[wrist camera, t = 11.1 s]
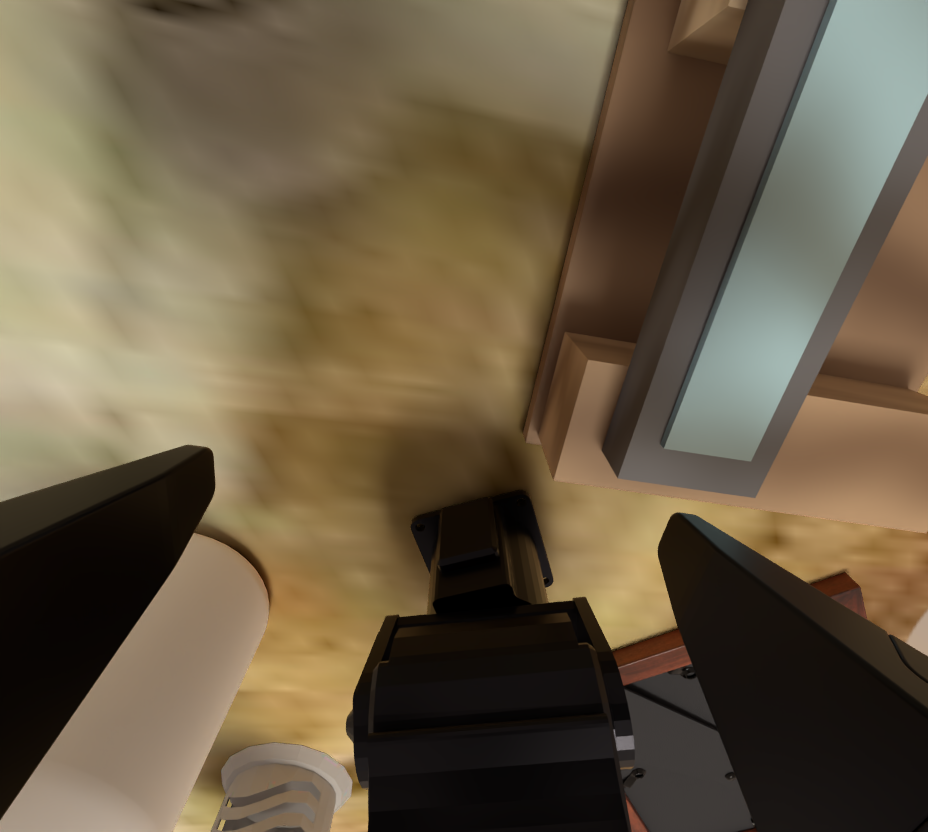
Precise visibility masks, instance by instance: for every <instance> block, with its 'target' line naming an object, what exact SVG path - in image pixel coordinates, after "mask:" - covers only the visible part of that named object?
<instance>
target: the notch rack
mask: <svg viewBox="0 0 928 832" xmlns="http://www.w3.org/2000/svg"><path fill="white" fill-rule="evenodd" d="M747 2H748V0H628V4H627V8H626V12H625V16H624V20H623V24H622V29H621V33H620V37H619V41H618V45H617V49H616V53H615V57H614V61H613V65H612V70H611V74H610V78H609V82H608V86H607V90H606V94H605V98H604V102H603V107H602V111H601V115H600V119H599V123H598V127H597V131H596V135H595V139H594V144H593V148H592V152H591V156H590V160H589V164H588V168H587V172H586V176H585V180H584V185H583V189H582V193H581V197H580V201H579V205H578V209H577V213H576V217H575V222H574V226H573V230H572V234H571V238H570V242H569V246H568V250H567V254H566V259H565V263H564V267H563V271H562V275H561V279H560V283H559V287H558V291H557V295H556V300H555V304H554V308H553V312H552V316H551V320H550V324H549V328H548V332H547V337H546V341H545V345H544V349H543V353H542V357H541V361H540V365H539V369H538V374H537V378H536V382H535V386H534V390H533V394H532V398H531V402H530V406H529V410H528V415H527V419H526V423H525V427H524V431H523V435H524V439H525V443H531V444H537V445H542V448H543V451H544V454H545V457H546V460H547V463H548V466H549V469H550V472H551V475H552V478H553V481H560V482H567V483H574V484H581V485H588V486H595V487H602V488H610V489H617V490H624V491H631V492H638V493H645V494H652V495H659V496H666V497H673V498H680V499H687V500H694V501H702V502H709V503H716V504H723V505H730V506H737V507H744V508H751V509H758V510H765V511H772V512H779V513H786V514H794V515H801V516H808V517H815V518H822V519H829V520H836V521H843V522H850V523H857V524H864V525H871V526H878V527H886V528H893V529H900V530H907V531H914V532H921V533H927V531H928V396H925V395H923V394H920V393H918V392H917V391H918V390H919V388H920V386H921V385H922V383H923V381H924V380H925V378H926V376H927V375H928V156H927V158H926V160H925V162H924V164H923V166H922V168H921V170H920V172H919V174H918V176H917V178H916V180H915V182H914V184H913V186H912V188H911V190H910V192H909V194H908V196H907V198H906V200H905V202H904V204H903V206H902V208H901V210H900V212H899V214H898V216H897V218H896V220H895V222H894V224H893V226H892V228H891V230H890V232H889V234H888V236H887V237H886V239H885V241H884V243H883V245H882V247H881V249H880V251H879V253H878V255H877V257H876V259H875V261H874V263H873V265H872V267H871V269H870V271H869V273H868V275H867V277H866V279H865V281H864V283H863V285H862V287H861V289H860V291H859V293H858V295H857V297H856V299H855V301H854V303H853V305H852V307H851V309H850V311H849V313H848V315H847V317H846V319H845V321H844V323H843V325H842V327H841V329H840V331H839V333H838V335H837V337H836V339H835V341H834V343H833V345H832V347H831V349H830V351H829V353H828V355H827V357H826V359H825V361H824V363H823V365H822V367H821V369H820V371H819V373H818V375H817V377H816V379H815V381H814V382H813V384H812V386H811V388H810V390H809V392H808V394H807V396H806V398H805V400H804V402H803V404H802V406H801V408H800V410H799V412H798V414H797V416H796V418H795V420H794V422H793V424H792V426H791V428H790V430H789V432H788V434H787V436H786V438H785V440H784V442H783V444H782V446H781V448H780V450H779V452H778V454H777V456H776V458H775V460H774V462H773V464H772V466H771V468H770V470H769V472H768V474H767V476H766V478H765V480H764V482H763V484H762V486H761V488H760V490H759V492H758V494H757V496H756V498H751V497H744V496H737V495H729V494H722V493H715V492H708V491H701V490H694V489H687V488H680V487H673V486H666V485H659V484H652V483H645V482H638V481H631V480H624V479H618V478H617V477H616V475H615V473H614V471H613V470H612V468H611V466H610V464H609V463H608V461H607V459H606V457H605V456H604V454H603V452H602V447H603V444H604V441H605V438H606V435H607V432H608V429H609V426H610V423H611V420H612V417H613V414H614V411H615V408H616V405H617V401H618V398H619V395H620V392H621V389H622V386H623V383H624V380H625V377H626V374H627V371H628V368H629V365H630V362H631V358H632V355H633V352H634V349H635V346H636V343H637V340H638V337H639V334H640V331H641V328H642V325H643V322H644V319H645V315H646V312H647V309H648V306H649V303H650V300H651V297H652V294H653V291H654V288H655V285H656V282H657V279H658V276H659V273H660V269H661V266H662V263H663V260H664V257H665V254H666V251H667V248H668V245H669V242H670V239H671V236H672V233H673V230H674V226H675V223H676V220H677V217H678V214H679V211H680V208H681V205H682V202H683V199H684V196H685V193H686V190H687V187H688V183H689V180H690V177H691V174H692V171H693V168H694V165H695V162H696V159H697V156H698V153H699V150H700V147H701V144H702V141H703V137H704V134H705V131H706V128H707V125H708V122H709V119H710V116H711V113H712V110H713V107H714V104H715V101H716V98H717V94H718V91H719V88H720V85H721V82H722V79H723V76H724V73H725V70H726V67H727V64H728V61H729V58H730V55H731V51H732V48H733V45H734V42H735V39H736V36H737V33H738V30H739V27H740V24H741V21H742V18H743V15H744V12H745V9H746V5H747Z"/></svg>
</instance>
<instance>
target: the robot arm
mask: <svg viewBox="0 0 928 832" xmlns="http://www.w3.org/2000/svg"><path fill="white" fill-rule="evenodd" d="M214 492H215V471H214V456H213V452H212V450H211V449H210V448H208V447H202V446H195V445H185V446H181V447H178V448H175V449H172V450H168V451H165V452H162V453H159V454H155V455H152V456H149V457H145V458H142V459H139V460H136V461H132V462H129V463H126V464H123V465H119V466H116V467H113V468H110V469H106V470H103V471H100V472H97V473H93V474H90V475H87V476H84V477H80V478H77V479H74V480H71V481H67V482H64V483H61V484H58V485H54V486H51V487H48V488H45V489H41V490H38V491H35V492H32V493H28V494H25V495H22V496H19V497H15V498H12V499H9V500H6V501H2V502H0V820H1V819H2V817H3V816H4V814H5V813H6V811H7V810H8V809H9V807H10V806H11V804H12V803H13V801H14V800H15V798H16V797H17V795H18V794H19V793H20V791H21V790H22V788H23V787H24V785H25V784H26V782H27V781H28V780H29V778H30V777H31V775H32V774H33V772H34V771H35V769H36V768H37V767H38V765H39V764H40V762H41V761H42V759H43V758H44V756H45V755H46V754H47V752H48V751H49V749H50V748H51V746H52V745H53V743H54V742H55V740H56V739H57V738H58V736H59V735H60V733H61V732H62V730H63V729H64V727H65V726H66V725H67V723H68V722H69V720H70V719H71V717H72V716H73V714H74V713H75V712H76V710H77V709H78V707H79V706H80V704H81V703H82V701H83V700H84V698H85V697H86V696H87V694H88V693H89V691H90V690H91V688H92V687H93V685H94V684H95V683H96V681H97V680H98V678H99V677H100V675H101V674H102V672H103V671H104V670H105V668H106V667H107V665H108V664H109V662H110V661H111V659H112V658H113V657H114V655H115V654H116V652H117V651H118V649H119V648H120V646H121V645H122V643H123V642H124V641H125V639H126V638H127V636H128V635H129V633H130V632H131V630H132V629H133V628H134V626H135V625H136V623H137V622H138V620H139V619H140V617H141V616H142V615H143V613H144V612H145V610H146V609H147V607H148V606H149V604H150V603H151V602H152V600H153V599H154V597H155V596H156V594H157V593H158V591H159V590H160V588H161V587H162V586H163V584H164V583H165V581H166V580H167V578H168V577H169V575H170V574H171V572H172V571H173V569H174V568H175V566H176V564H177V563H178V561H179V559H180V558H181V556H182V554H183V552H184V550H185V548H186V547H187V545H188V543H189V541H190V539H191V537H192V535H193V533H194V532H195V530H196V528H197V526H198V524H199V522H200V520H201V519H202V517H203V515H204V513H205V511H206V509H207V507H208V505H209V504H210V502H211V500H212V498H213V495H214ZM521 498H523V499H525V500H524V501H523V502H518V501H517V500H518V499H521ZM417 524H423V525H424V526H423V527H419V526H417ZM411 530H412V533H413V535H414V538H415V540H416V542H417V545H418V547H419V549H420V552H421V554H422V556H423V559H424V561H425V563H426V566H427V568H428V571H429V573H430V582H429V594H428V606H427V615H417V616H406V617H399V615H391V616H386V617H385V620H384V622H383V624H382V627H381V629H380V631H379V632H378V635H377V637H376V640H375V642H374V644H373V647H372V649H371V652H370V654H369V657H368V659H367V662H366V664H365V667H364V669H363V672H362V674H361V677H360V679H359V681H358V684H357V686H356V689H355V691H354V695H353V710H352V711H351V712H350V714H349V715H348V717H347V721H346V732H347V735H348V736H349V738H350V739H351V740H352V742H353V743H354V759H355V767H356V773H357V777H358V780H359V783H360V785H361V787H362V788H363V789H366V790H367V789H368V816H369V821H368V832H632V830H631V825H630V819H629V813H628V808H627V802H626V797H625V791H624V786H623V780H622V774H621V769H632V768H633V767H634V762H635V747H634V737H633V730H632V723H631V718H630V712H629V707H628V702H627V698H626V694H625V690H624V686H623V682H622V679H621V675H620V672H619V669H618V666H617V663H616V660H615V658H614V655H613V653H612V651H611V648H610V646H609V644H608V642H607V640H606V638H605V636H604V634H603V632H602V630H601V628H600V626H599V624H598V622H597V620H596V618H595V616H594V613H593V611H592V609H591V607H590V605H589V603H588V601H587V599H586V597H579V598H573V601H563V602H553V603H548V598H547V594H546V589H545V588H546V587H549V586H550V585H552V583H553V576H552V572H551V568H550V565H549V561H548V558H547V554H546V551H545V547H544V544H543V540H542V537H541V533H540V530H539V526H538V523H537V519H536V516H535V512H534V509H533V505H532V502H531V498H530V495H529V493H528V492H526V491H524V490H518V491H514V492H510V493H506V494H502V495H498V496H494V497H490V498H487V497H485V498H481V499H477V500H473V501H469V502H465V503H461V504H457V505H453V506H449V507H445V508H443V509H442V510H438V511H434V512H430V513H426V514H422V515H418V516H416V517H414V518H413V519H412V522H411ZM658 558H659V561H660V565H661V569H662V572H663V576H664V580H665V583H666V587H667V591H668V594H669V598H670V602H671V605H672V609H673V613H674V616H675V619H676V622H677V626H678V629H679V631H680V634H681V637H682V640H683V642H684V645H685V647H686V650H687V653H688V655H689V658H690V660H691V663H692V665H693V668H694V671H695V673H696V676H697V678H698V681H699V683H700V686H701V689H702V691H703V694H704V696H705V699H706V701H707V704H708V707H709V709H710V712H711V714H712V717H713V719H714V722H715V725H716V727H717V730H718V732H719V735H720V737H721V740H722V743H723V745H724V748H725V750H726V753H727V755H728V758H729V761H730V763H731V766H732V768H733V771H734V773H735V776H736V779H737V781H738V784H739V786H740V789H741V791H742V794H743V797H744V799H745V802H746V804H747V807H748V809H749V812H750V815H751V817H752V820H753V822H754V825H755V827H756V830H757V832H928V656H926V655H925V654H923V653H921V652H920V651H918V650H916V649H915V648H913V647H911V646H910V645H908V644H906V643H905V642H903V641H901V640H900V639H898V638H897V637H895V636H893V635H888V634H887V632H886V631H885V630H883V629H882V628H880V627H878V626H877V625H875V624H873V623H872V622H870V621H869V620H867V619H865V618H864V617H862V616H860V615H859V614H857V613H855V612H854V611H852V610H851V609H849V608H847V607H846V606H844V605H842V604H841V603H839V602H837V601H836V600H834V599H832V598H831V597H829V596H828V595H826V594H824V593H823V592H821V591H819V590H818V589H816V588H814V587H813V586H811V585H810V584H808V583H806V582H805V581H803V580H801V579H800V578H798V577H796V576H795V575H793V574H792V573H790V572H788V571H787V570H785V569H783V568H782V567H780V566H778V565H777V564H775V563H773V562H772V561H770V560H769V559H767V558H765V557H764V556H762V555H760V554H759V553H757V552H755V551H754V550H752V549H751V548H749V547H747V546H746V545H744V544H742V543H741V542H739V541H737V540H736V539H734V538H733V537H731V536H729V535H728V534H726V533H724V532H723V531H721V530H719V529H718V528H716V527H715V526H713V525H711V524H710V523H708V522H706V521H705V520H703V519H701V518H700V517H698V516H696V515H693V514H686V513H675V514H673V515H672V516H671V517H670V519H669V521H668V524H667V526H666V528H665V531H664V533H663V535H662V538H661V540H660V542H659V546H658ZM544 577H546V579H543V578H544Z"/></svg>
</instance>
